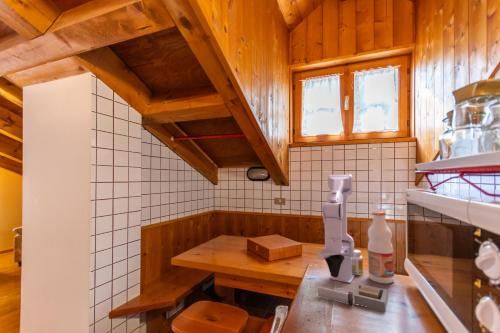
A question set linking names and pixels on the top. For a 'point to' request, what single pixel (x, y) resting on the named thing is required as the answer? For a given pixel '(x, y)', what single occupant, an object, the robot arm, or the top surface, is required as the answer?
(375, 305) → the cradle
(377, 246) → the fruit juice
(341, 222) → the robot arm
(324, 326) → the top surface
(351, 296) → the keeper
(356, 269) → the supplement bottle
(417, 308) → the top surface
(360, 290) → the link block
